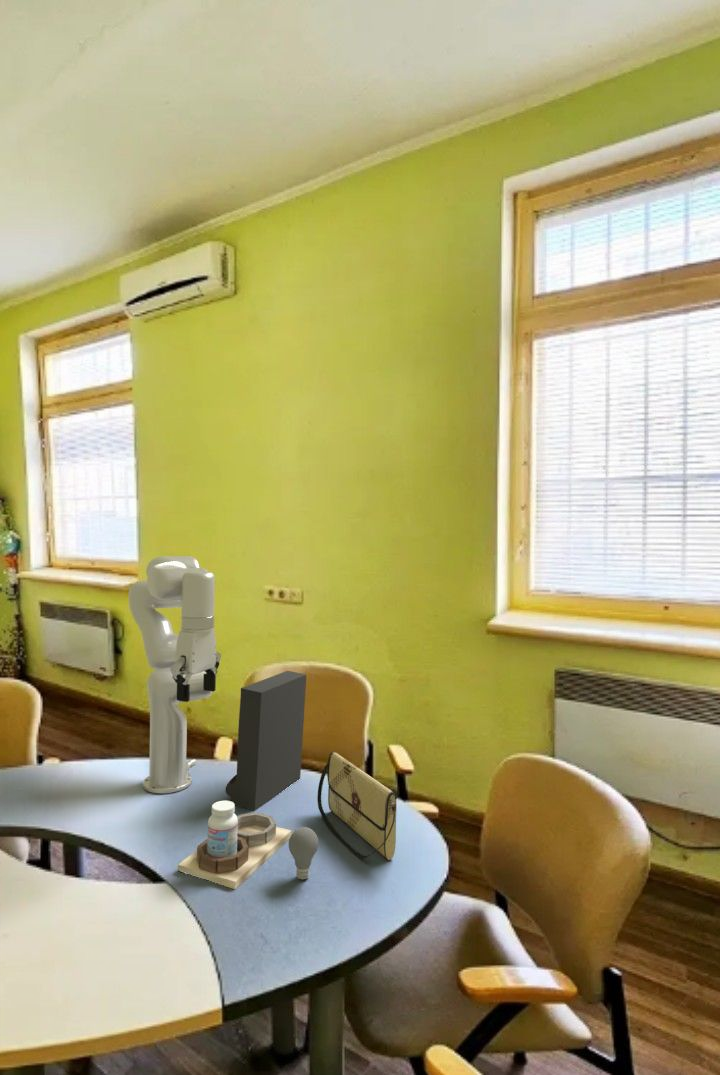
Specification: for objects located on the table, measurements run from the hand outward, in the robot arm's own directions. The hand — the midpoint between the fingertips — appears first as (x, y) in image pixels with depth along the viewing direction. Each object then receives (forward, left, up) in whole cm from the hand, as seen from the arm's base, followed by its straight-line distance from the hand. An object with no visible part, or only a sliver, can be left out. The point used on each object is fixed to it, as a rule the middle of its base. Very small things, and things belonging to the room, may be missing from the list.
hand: (196, 695), depth 144 cm
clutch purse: (-10, +37, -31) cm, 49 cm away
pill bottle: (+12, +17, -29) cm, 36 cm away
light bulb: (+9, +34, -31) cm, 47 cm away
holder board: (+7, +17, -30) cm, 35 cm away
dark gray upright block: (-22, +6, -31) cm, 38 cm away
